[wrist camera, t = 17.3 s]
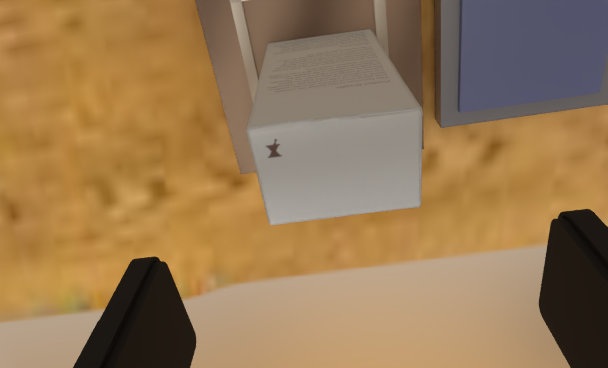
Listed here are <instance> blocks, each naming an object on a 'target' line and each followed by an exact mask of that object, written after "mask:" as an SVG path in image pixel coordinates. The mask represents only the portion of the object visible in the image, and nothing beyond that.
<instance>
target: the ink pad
mask: <svg viewBox="0 0 608 368" xmlns="http://www.w3.org/2000/svg"><path fill="white" fill-rule="evenodd" d="M434 12H435V119H436V121H437V123H438V124H439V126H440V127H441V128H444V127H451V126H458V125H465V124H472V123H479V122H486V121H493V120H501V119H508V118H515V117H522V116H529V115H536V114H543V113H550V112H557V111H564V110H571V109H578V108H585V107H592V106H600V105H607V104H608V0H434Z"/></svg>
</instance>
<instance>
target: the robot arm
mask: <svg viewBox="0 0 608 368" xmlns="http://www.w3.org/2000/svg"><path fill="white" fill-rule="evenodd" d="M539 309H540V312H541V315H542V317H543V319H544V321H545V323H546V325H547V326H548V328H549V330H550V332H551V333H552V335H553V337H554V339H555V341H556V342H557V344H558V346H559V348H560V349H561V351H562V353H563V355H564V356H565V358H566V360H567V362H568V364H569V365H570V367H571V368H608V227H607V226H606V225H605V224H604V223H603V222H602V221H601V220H600V219H599V217H598V216H597V215H596V214H595V213H594V212H593V211H591V210H589V209H583V210H574V211H565V212H561V213H560V214H559V216H558V219H553V220H552V222H551V226H550V232H549V239H548V245H547V252H546V258H545V265H544V271H543V279H542V284H541V291H540V298H539ZM195 348H196V335H195V331H194V329H193V326H192V324H191V322H190V319H189V317H188V314H187V312H186V309H185V307H184V304H183V302H182V299H181V297H180V295H179V292H178V290H177V287H176V285H175V282H174V280H173V277H172V275H171V273H170V270H169V268H168V265H167V264H166V262H161V261H160V260H159V258H157V257H147V258H138V259H133V260H132V261H131V262H130V264H129V266H128V268H127V270H126V272H125V273H124V275H123V277H122V279H121V281H120V283H119V285H118V286H117V288H116V290H115V292H114V294H113V296H112V298H111V299H110V301H109V303H108V305H107V307H106V309H105V311H104V313H103V315H102V316H101V318H100V320H99V321H98V322H97V324H96V326H95V328H94V330H93V332H92V333H91V335H90V337H89V339H88V341H87V343H86V345H85V346H84V348H83V350H82V352H81V354H80V356H79V358H78V359H77V361H76V363H75V365H74V367H73V368H190V366H191V362H192V359H193V355H194V351H195Z"/></svg>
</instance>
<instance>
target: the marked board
mask: <svg viewBox="0 0 608 368" xmlns="http://www.w3.org/2000/svg"><path fill="white" fill-rule="evenodd" d="M195 2H196V6H197V10H198V13H199V17H200V21H201V25H202V28H203V32H204V36H205V40H206V44H207V47H208V51H209V55H210V59H211V63H212V66H213V70H214V74H215V78H216V82H217V85H218V89H219V93H220V97H221V101H222V104H223V108H224V112H225V116H226V120H227V123H228V127H229V131H230V135H231V138H232V142H233V146H234V150H235V154H236V157H237V161H238V165H239V169H240V173H241V174H246V173H253V172H256V168H255V164H254V160H253V156H252V152H251V148H250V144H249V140H248V136H247V133H246V130H247V126H248V123H249V119H250V115H251V112H252V107H253V103H254V98H255V94H256V90H257V86H258V81H259V77H260V73H261V69H262V66H263V61H264V57H265V52H266V49H267V45H268V43H274V42H281V41H288V40H295V39H302V38H309V37H316V36H323V35H330V34H337V33H345V32H352V31H359V30H366V29H370V30H372V31H373V33H374V34H375V36H376V38H377V39H378V41H379V42H380V44H381V45H382V47H383V49H384V50H385V52H386V54H387V55H388V57H389V59H390V60H391V62H392V63H393V65H394V66H395V68H396V70H397V71H398V73H399V74H400V76H401V78H402V79H403V81H404V82H405V84H406V85H407V87H408V88H409V90H410V92H411V93H412V94H413V96H414V97H415V99H416V100H417V102H418V103H419V105H420V106H421V107H422V111H423V101H422V56H421V11H420V0H195ZM422 149H424V146H423V117H422Z"/></svg>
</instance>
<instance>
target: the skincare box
mask: <svg viewBox="0 0 608 368" xmlns="http://www.w3.org/2000/svg"><path fill="white" fill-rule="evenodd" d="M422 117H423V111H422V107H421V106H420V105H419V103H418V102H417V100H416V99H415V97H414V96H413V94H412V93H411V92H410V90H409V88H408V87H407V85H406V84H405V82H404V81H403V79H402V78H401V76H400V74H399V73H398V71H397V70H396V68H395V66H394V65H393V63H392V62H391V60H390V59H389V57H388V55H387V54H386V52H385V50H384V49H383V47H382V45H381V44H380V42H379V41H378V39H377V38H376V36H375V34H374V33H373V31H372V30H370V29H366V30H359V31H352V32H345V33H337V34H330V35H323V36H316V37H309V38H302V39H295V40H288V41H281V42H274V43H268V45H267V49H266V52H265V57H264V61H263V66H262V69H261V73H260V77H259V81H258V86H257V90H256V94H255V98H254V103H253V107H252V112H251V115H250V119H249V123H248V126H247V130H246V133H247V136H248V140H249V144H250V148H251V152H252V156H253V160H254V164H255V168H256V172H257V176H258V180H259V184H260V189H261V193H262V197H263V201H264V205H265V209H266V214H267V218H268V222H269V224H271V225H277V224H285V223H293V222H300V221H309V220H317V219H325V218H333V217H341V216H348V215H356V214H364V213H372V212H381V211H389V210H396V209H406V208H416V207H420V205H421V179H422Z"/></svg>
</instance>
